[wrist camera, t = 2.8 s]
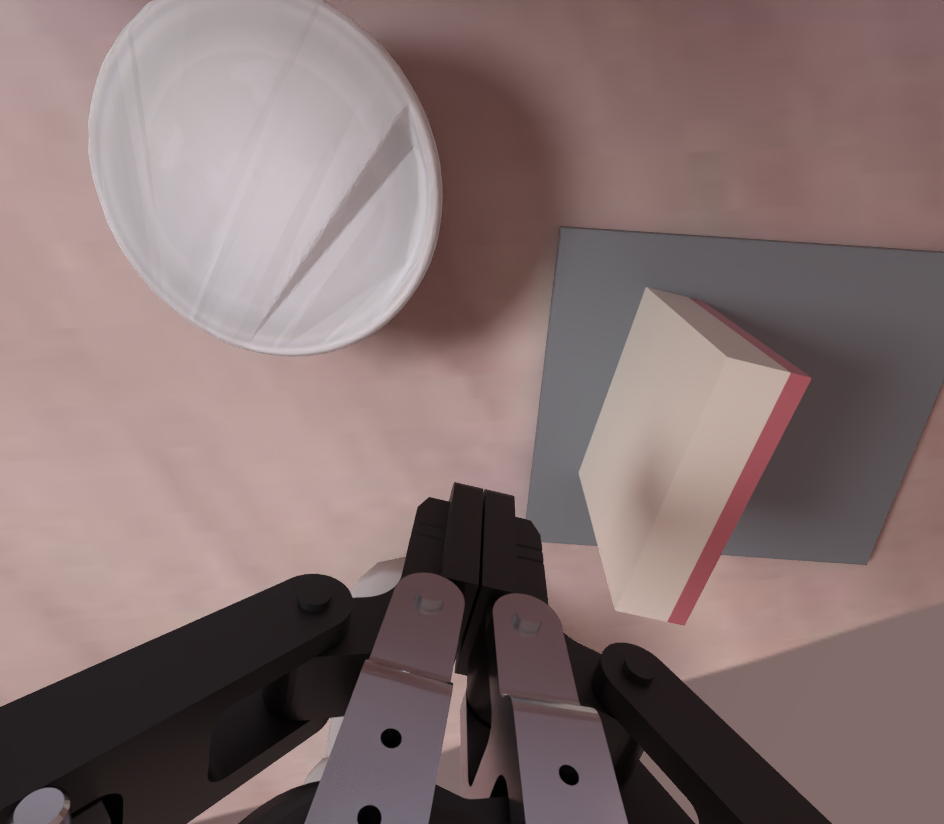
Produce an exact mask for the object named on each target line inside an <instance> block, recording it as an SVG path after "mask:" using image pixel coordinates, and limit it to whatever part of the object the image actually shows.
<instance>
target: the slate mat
mask: <svg viewBox="0 0 944 824" xmlns="http://www.w3.org/2000/svg"><path fill="white" fill-rule="evenodd" d="M646 287H650V288H654V289H658V290H661V291H665V292H669V293H673V294H677V295H681V296H685V297H689V298H693V299H697V300H701V301H703V302H705V303H706V304H707V305H709V306H710V307H712V308H713V309H715V310H716V311H717V312H719V313H720V314H722V315H723V316H724V317H726V318H727V319H729V320H730V321H732V322H733V323H734V324H736V325H737V326H739V327H740V328H742V329H743V330H744V331H746V332H747V333H749V334H750V335H752V336H753V337H754V338H756V339H757V340H759V341H760V342H762V343H763V344H764V345H766V346H767V347H769V348H770V349H772V350H773V351H774V352H776V353H777V354H779V355H780V356H782V357H783V358H784V359H786V360H787V361H789V362H790V363H791V364H793V365H794V366H796V367H797V368H799V369H800V370H801V371H803V372H804V373H806V374H807V375H809V376H810V377H811V378H812V379H811V381H810V383H809V385H808V387H807V389H806V391H805V392H804V394H803V396H802V398H801V400H800V402H799V404H798V406H797V408H796V410H795V412H794V414H793V416H792V418H791V420H790V422H789V424H788V425H787V427H786V429H785V431H784V433H783V435H782V437H781V439H780V441H779V443H778V445H777V447H776V449H775V451H774V453H773V455H772V457H771V458H770V460H769V462H768V464H767V466H766V468H765V470H764V472H763V474H762V476H761V478H760V480H759V482H758V484H757V486H756V488H755V490H754V491H753V493H752V495H751V497H750V499H749V501H748V503H747V505H746V507H745V509H744V511H743V513H742V515H741V517H740V519H739V521H738V523H737V524H736V526H735V528H734V530H733V532H732V534H731V536H730V538H729V540H728V542H727V544H726V546H725V548H724V550H723V552H722V554H721V555H731V556H745V557H760V558H774V559H788V560H802V561H816V562H830V563H844V564H859V565H867V563H868V560H869V558H870V556H871V553H872V551H873V548H874V546H875V544H876V541H877V539H878V536H879V534H880V532H881V529H882V527H883V525H884V522H885V520H886V517H887V515H888V513H889V510H890V508H891V505H892V503H893V501H894V498H895V496H896V494H897V491H898V489H899V486H900V484H901V482H902V479H903V477H904V475H905V472H906V470H907V467H908V465H909V463H910V460H911V458H912V455H913V453H914V451H915V448H916V446H917V444H918V441H919V439H920V436H921V434H922V432H923V429H924V427H925V424H926V422H927V420H928V417H929V415H930V413H931V410H932V408H933V405H934V403H935V401H936V398H937V396H938V393H939V391H940V389H941V386H942V384H943V382H944V252H941V251H925V250H910V249H895V248H880V247H865V246H850V245H835V244H820V243H805V242H790V241H775V240H759V239H744V238H729V237H714V236H699V235H684V234H669V233H654V232H639V231H624V230H609V229H594V228H578V227H563V226H560V231H559V240H558V248H557V257H556V265H555V274H554V282H553V291H552V300H551V308H550V317H549V325H548V334H547V342H546V351H545V360H544V368H543V377H542V385H541V394H540V402H539V411H538V420H537V428H536V437H535V445H534V454H533V463H532V471H531V480H530V488H529V497H528V505H527V514H526V519H527V520H531V521H532V523H533V524H534V526H535V527H536V529H537V530H538V532H539V533H540V535H541V542H548V543H562V544H576V545H590V546H598V545H597V541H596V537H595V533H594V529H593V526H592V522H591V518H590V514H589V511H588V507H587V503H586V499H585V495H584V492H583V488H582V484H581V480H580V477H579V470H580V468H581V465H582V462H583V459H584V456H585V454H586V451H587V448H588V445H589V443H590V440H591V437H592V434H593V432H594V429H595V426H596V423H597V421H598V418H599V415H600V412H601V410H602V407H603V404H604V401H605V399H606V396H607V393H608V390H609V388H610V385H611V382H612V379H613V377H614V374H615V371H616V368H617V366H618V363H619V360H620V357H621V355H622V352H623V349H624V346H625V343H626V341H627V338H628V335H629V332H630V330H631V327H632V324H633V321H634V319H635V316H636V313H637V310H638V308H639V305H640V302H641V299H642V297H643V294H644V291H645V288H646Z"/></svg>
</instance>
